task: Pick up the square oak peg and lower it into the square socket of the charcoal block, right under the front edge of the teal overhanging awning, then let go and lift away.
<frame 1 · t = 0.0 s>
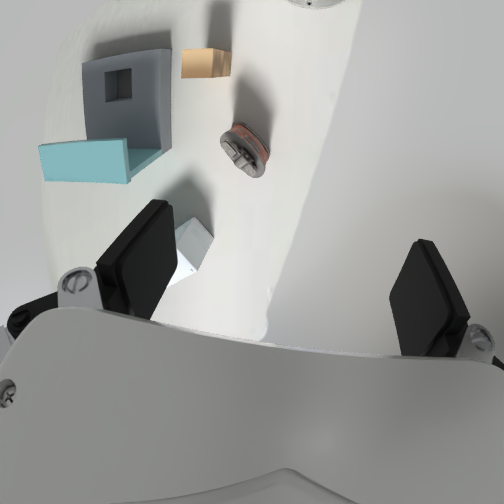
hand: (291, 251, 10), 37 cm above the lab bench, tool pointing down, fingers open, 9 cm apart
socket block: (130, 101, 42), on the lab bench
lighter: (251, 141, 44), on the lab bench
peg: (218, 64, 37), on the lab bench
skincare box: (186, 237, 58), on the lab bench
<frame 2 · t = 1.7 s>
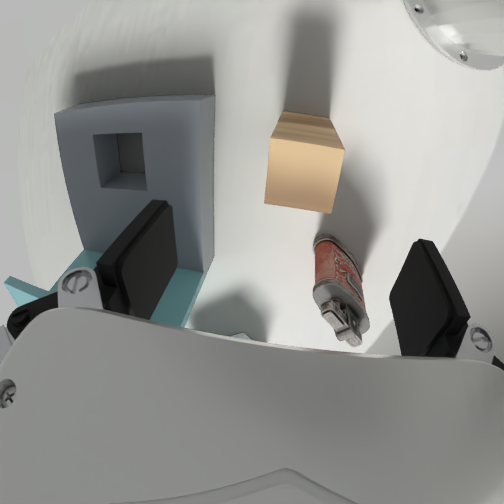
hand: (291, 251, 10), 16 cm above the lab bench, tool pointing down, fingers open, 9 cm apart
socket block: (142, 179, 28), on the lab bench
lighter: (338, 260, 31), on the lab bench
peg: (303, 135, 23), on the lab bench
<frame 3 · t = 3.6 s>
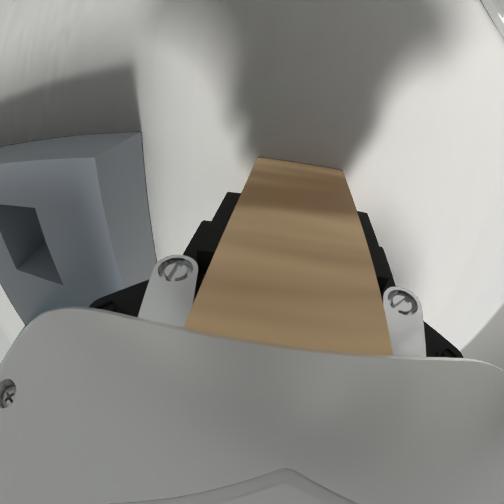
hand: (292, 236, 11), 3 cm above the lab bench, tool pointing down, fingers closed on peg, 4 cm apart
socket block: (70, 250, 19), on the lab bench
peg: (294, 200, 14), on the lab bench, touching gripper
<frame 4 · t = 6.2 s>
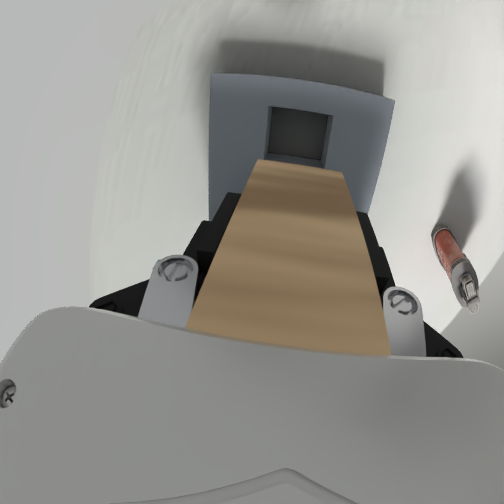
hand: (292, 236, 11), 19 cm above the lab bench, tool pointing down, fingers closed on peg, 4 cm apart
socket block: (293, 162, 29), on the lab bench
lighter: (445, 247, 31), on the lab bench
peg: (294, 202, 14), point 16 cm above the lab bench, touching gripper
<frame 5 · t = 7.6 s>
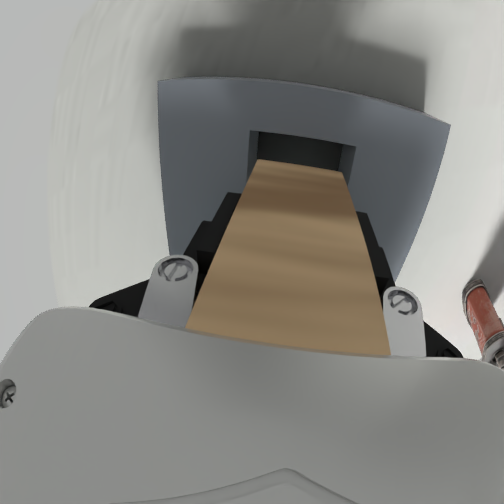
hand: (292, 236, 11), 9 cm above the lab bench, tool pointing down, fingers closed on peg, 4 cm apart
socket block: (291, 207, 21), on the lab bench
lighter: (475, 302, 23), on the lab bench
peg: (294, 202, 14), point 6 cm above the lab bench, touching gripper
when the fingers open (5 cm above the lab bench, at t = 8.8 s): peg drops 1 cm, resting in socket block.
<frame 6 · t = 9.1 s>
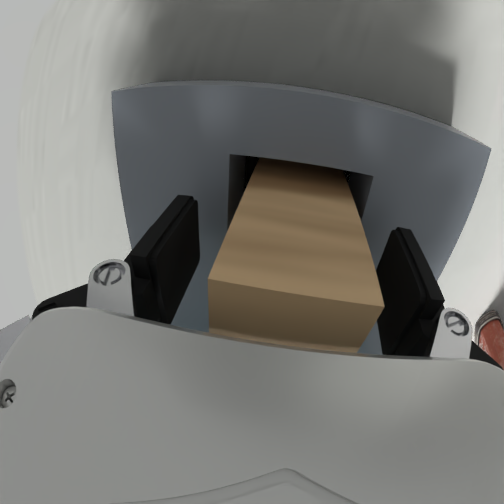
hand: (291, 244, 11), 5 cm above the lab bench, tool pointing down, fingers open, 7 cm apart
socket block: (287, 241, 17), on the lab bench
lighter: (487, 332, 20), on the lab bench
peg: (296, 189, 15), resting in socket block
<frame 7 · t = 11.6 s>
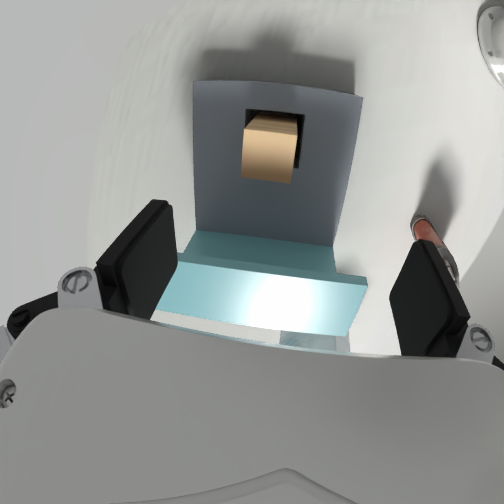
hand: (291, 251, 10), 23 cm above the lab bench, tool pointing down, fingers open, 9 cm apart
socket block: (272, 160, 31), on the lab bench
lighter: (425, 237, 34), on the lab bench
peg: (275, 131, 29), resting in socket block
skincare box: (314, 329, 47), on the lab bench
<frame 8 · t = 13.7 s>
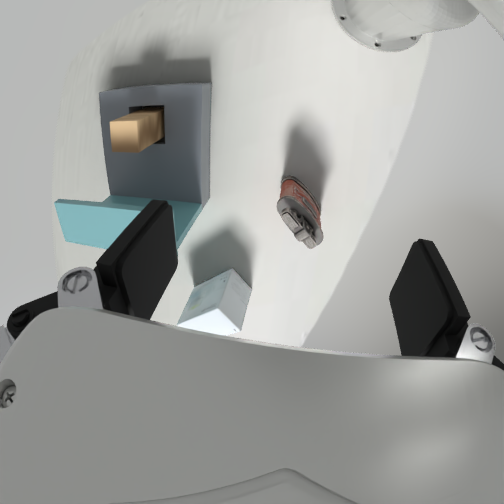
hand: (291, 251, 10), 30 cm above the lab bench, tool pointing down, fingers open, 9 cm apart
socket block: (159, 141, 39), on the lab bench
lighter: (301, 197, 42), on the lab bench
peg: (159, 119, 37), resting in socket block
skincare box: (221, 286, 55), on the lab bench
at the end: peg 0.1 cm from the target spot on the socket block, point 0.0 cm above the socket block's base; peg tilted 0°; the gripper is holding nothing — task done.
